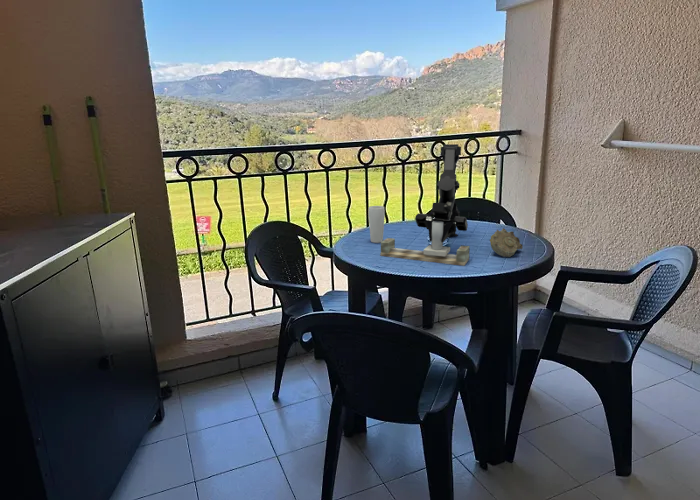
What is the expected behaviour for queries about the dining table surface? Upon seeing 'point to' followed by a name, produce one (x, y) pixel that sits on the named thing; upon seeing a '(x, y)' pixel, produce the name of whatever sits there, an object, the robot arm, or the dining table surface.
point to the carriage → (437, 241)
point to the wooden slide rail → (391, 251)
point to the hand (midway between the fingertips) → (436, 241)
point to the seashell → (505, 243)
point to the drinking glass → (376, 223)
